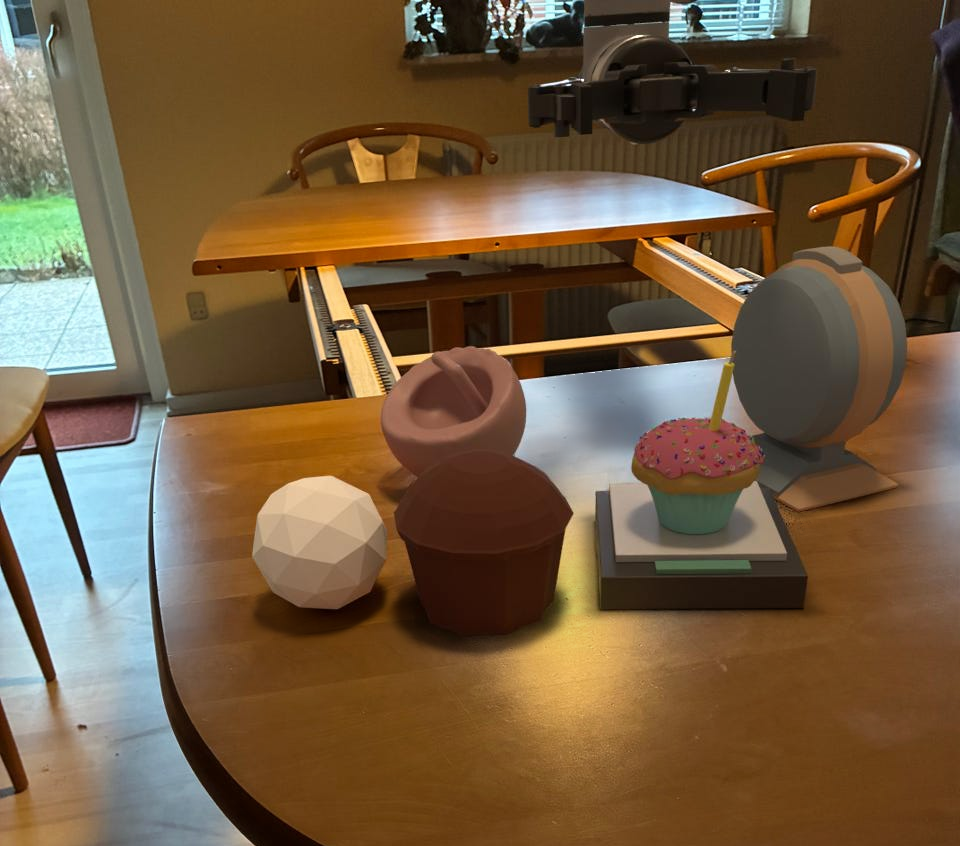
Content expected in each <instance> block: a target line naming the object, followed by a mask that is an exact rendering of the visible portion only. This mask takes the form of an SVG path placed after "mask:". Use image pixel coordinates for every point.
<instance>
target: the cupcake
mask: <svg viewBox="0 0 960 846" xmlns="http://www.w3.org/2000/svg"><path fill="white" fill-rule="evenodd" d="M735 353H736V351H733V352H732V354H731V353H730V358H729V360H728V361H725V362H724V363H723V366H722V372H721V374H720V378H719V383H718V387H717V392H716V397H715V401H714V405H713V410H712V414H711V417H707V416H704V417H703V418H696V417H691V418H689V417H687V418H685V417H681V418H680V417H678V418H677V419H675V418H674V419H669V421H668V420H666V421H663V422H662V423H660V424H658V425H656V426H655V427H653V428H651V429H649V430H648V431H646V432H644V434H643V435H642V436H639V441H638V442H637V443H636V445H635V447H634V449H633V451H634V453H633V456H632V461H631V466H630V467H631V468H630V469H631V473H632V476H634V478H635V479H636V480H638V481H639V482H640V483H644V484H646V485H647V486H648V488H649V490H650V492H651V495H652V498H653V501H654V504H655V508H656V512H657V516H658V520H659V522H660V523H661V524H662V525H663V526H664V527H665V528H667V529H669V530H672V531H675V532H678V533H683V534H708V533H713V532H716V531H719V530H721V529H722V528H724V527H725V526H726V525H727V524H728V522H729V519H730V516H731V514H732V512H733V509H734V507H735V505H736V503H737V500H738V498H739V496H740V494H741V493H742V491H743V489H745V488H748V487H750V486H751V485H752V483H753V482H754V480H755V479H756V478H757V477H758V475H759V470H760V464H761V463H763V462H764V456H765V455H764V453H763V452H761V451H762V448H761V449H760V447H759V446H758V445H757V444H756V443H755V440H754V438H752V436H753V435H751V434H748V433H746V430H745V429H743V428H741V426H738V425H736V424H735V422H734V423H733V422H728V421H727V420H726V419H723V414H724V410H725V406H726V402H727V398H728V394H729V389H730V386H731V382H732V379H733V378H732V377H733V370H734V363H732V361H733V359H734V355H735ZM762 454H763V455H764V456H763V455H762Z"/></svg>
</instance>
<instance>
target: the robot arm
mask: <svg viewBox="0 0 960 846" xmlns="http://www.w3.org/2000/svg"><path fill="white" fill-rule="evenodd" d="M698 1H699V0H583V28H582V29H583V35H582V36H583V62H582V67H581V70H580V72H579V78H577V77H576V76H573V77H572V76H570V77H568V78H567V79H563V80H561V81H556V82H549V83H543V84H540V83H534V84H533V83H532V84H531V85H528V86H527V88H526V90H527V91H526V93H527V94H526V95H527V125H528V127H530V128H533V129H540V128H541V127H542V126H546V125H550V124H553V137H554V138H569V137H571V136H570V134H571V133H570V132H571V131H570V129H571V128H572V129H573V130H574V131H575V132H577V133H578V134H579V135H580V136H585V135H586V136H587V135H593V122H594V123H595V124H596V125H598V126H600V127H601V128H603V129H607V130H609V131H610V132H613V133H615V134H616V135H617V136H619V137H621V138H622V139H623V140H626V141H628V142H629V144H630V145H632V146H637V145H650V144H651V145H652V144H655V143H658V142H661V141H663V140H665V139H666V138H668V137H670V136H672V135H673V134H674V133H675V132H677V131H678V129H680V127H681V126H683V124H684V122H685V121H686V119H703V118H704V119H705V118H710V117H713V116H714V114H715V112H765V116H770V117H774V118H777V119H781V120H785V121H789V122H801V121H804V120H805V112H808V111H812V110H813V109H814V106H815V98H816V88H817V87H816V86H817V80H818V79H817V77H818V68H817V67H813V66H804V68H795V67H796V57H791V58H788V57H787V58H781V59H780V68H779V69H777V68H776V69H775V68H773V69H772V68H771V69H768V68H767V69H765V68H763V69H762V68H761V69H759V68H757V69H754V68H753V69H745V68H738V66H734V67H730V68H727V69H725V70H724V71H723V72H720V71H718V69H717V66H716V65H715V64H698V65H697V64H694V65H693V63H692V61H691V59H690V58H689V56H688V54H687V53H686V51H685V50H684V49H683V48H682V46H680V45H679V44H678V43H676V42H675V41H674V40H671V39H670V21H671V20H670V19H671V3H673V4H677V5H688V4H693V3H696V2H698ZM694 108H695V109H694ZM570 125H571V126H570Z"/></svg>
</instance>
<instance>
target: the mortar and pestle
mask: <svg viewBox="0 0 960 846" xmlns="http://www.w3.org/2000/svg"><path fill="white" fill-rule="evenodd" d="M525 396H526V395H525V392H524V388H523V386H522V383H521V381H520V379H519V377H518V374H517V373H516V372H515V370H514V369H513V366H512V364H511V362H510V361H509V360H508V359H507V358H505V357H503V356H502V355H500V354H499V353H498V352H496V351H494V350H492V349H490V348H478V347H476V346H473V345H469V346H465V347H453V348H451V349H450V350H442V351H434V352H433V353H432V354H431V356H429V357H428V358H425V359H424V360H422V361H421V362H419V363H417V364H415V365H413V366H412V367H411V368H410V369H409V370H408V371H407V372H406V373H404V374H403V375H402V376H401V377H400V378H399V379H398V380H397V381H396V382H395V383H394V385H393V386H392V387H391V388H390V390H389V391H388V393H387V394H386V397H385V399H384V401H383V403H382V406H381V411H380V427H381V430H382V431H381V432H382V435H383V437H384V439H385V442H386V444H387V446H388V449H389V450H390V452H391V454H392V455H393V456H394V458H395V459H396V461H398V462H399V464H400V465H401V467H403V468H404V469H405V470H406V471H408V472H409V473H410V474H412V475H413V476H415V477H416V478H417V477H418V476H419V475H420V474H421V473H422V472H423V471H424V470H425V469H426V468H428V467H429V466H431V465H432V464H434V463H436V462H438V461H440V460H441V459H444V458H446V457H448V456H451V455H453V454H455V453H461V452H466V451H472V450H492V451H498V452H503V453H508V454H511V455H513V456H515V454H516V452H517V451H518V449H519V446H520V445H521V443H522V440H523V436H524V433H525V431H526V430H525V429H526V423H527V403H526V401H527V400H526V397H525Z"/></svg>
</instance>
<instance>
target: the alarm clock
mask: <svg viewBox="0 0 960 846" xmlns="http://www.w3.org/2000/svg"><path fill="white" fill-rule="evenodd" d="M733 326H734V327H733V332H732V336H731V337H732V338H731V343H730V344H731V346H730V347H731V349H730V350H731V351H730V352H731V353H730V355H731V354H732V352H733V351H736V353H735V355H734V359H733V361H732V363H734V370H733V374H732V377H733V378H732V379H733V383H734V386H735V389H736V393H737V396H738V399H739V402H740V403H741V405H742V407H743V409H744V411H745V413H746V415H747V417H748V418H749V420H751V421H752V423H753V424H754V425H755V426H756V428H758V430H760V431H761V432H763V433H757V434H753V435H751V436H752V438H754V440H755V443H756V444H757V445H758V446H759V447H760V449H761V448H762V451H761V452H763V453H764V455H765V456H764V455H763V454H762V455H763V456H764V462H763V463H761V464H760V470H759V475H758V477H757V478H756V479H755V480H754V481H757V483H758V485H759V487H760V488H770V490H771V493H772V495H773V497H774V500H775V501H778V502H780V503H781V504H783V505H785V506H787V507H788V508H790V509H792V510H794V511H796V512H797V513H800V512H804V511H807V510H813V509H816V508H820V507H824V506H828V505H831V504H836V503H840V502H844V501H848V500H851V499H857V498H860V497H864V496H868V495H871V494H877V493H880V492H884V491H887V490H892V489H896V488H899V483H897V482H896V481H894V480H893V479H890V478H889V477H887V476H886V475H884V474H882V473H880V472H878V469H877V468H876V467H874V466H873V465H871V464H869V463H868V462H867V461H866V460H864V459H863V458H861V457H860V456H858V455H857V454H856V453H855V452H852V451H851V450H848V449H846V442H847V441H849V440H850V439H853V438H854V437H856V436H859V435H861V434H862V432H863V431H865V429H866V428H867V427H869V426H871V425H873V424H874V423H875V422H876V421H877V419H879V418H880V417H881V416H882V415H883V413H884V412H886V410H887V409H888V407H889V406H890V405H891V404H892V402H893V400H894V398H895V396H896V394H897V393H898V391H899V389H900V387H901V384H902V380H903V377H904V373H905V370H906V367H907V366H906V365H907V354H908V338H907V327H906V322H905V318H904V316H903V312H902V309H901V306H900V303H899V301H898V300H897V297H896V296H895V294H894V293H893V291H892V289H891V288H890V286H889V285H888V284H887V283H886V282H885V281H884V280H883V279H882V278H881V277H880V276H879V275H878V274H876V273H875V272H874V271H873V270H872V269H870V268H869V267H866V266H864V265H863V261H862V259H860V258H859V257H857V256H856V255H855V254H854V253H852V252H850V251H848V250H847V249H844V248H842V247H839V246H819V247H813V248H807V249H801V250H798V251H795V252H793V253H792V260H791V261H789V262H787V263H784V264H782V265H781V266H780V267H779V268H777V269H776V270H775V271H774V272H772V273H769V274H768V275H767V276H765V277H764V278H763V279H762V280H761V281H760V282H759V283H758V284H757V285H755V287H754V288H753V289H752V290H751V291H750V292H749V293H748V295H747V296H746V298H745V300H744V301H743V303H742V304H741V306H740V308H739V310H738V313H737V317H736V319H735V322H734V325H733Z"/></svg>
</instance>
